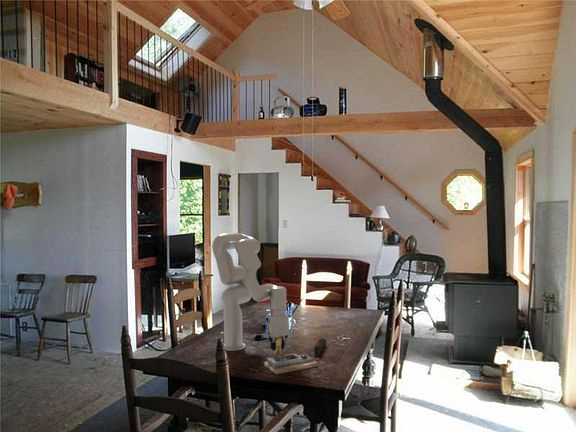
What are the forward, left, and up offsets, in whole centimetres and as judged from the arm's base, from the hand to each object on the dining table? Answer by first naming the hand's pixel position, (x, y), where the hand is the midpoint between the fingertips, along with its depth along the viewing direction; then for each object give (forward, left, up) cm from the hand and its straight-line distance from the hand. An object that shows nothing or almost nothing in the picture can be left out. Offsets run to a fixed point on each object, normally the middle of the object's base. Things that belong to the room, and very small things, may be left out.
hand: (277, 348), depth 208 cm
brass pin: (0, 0, -2) cm, 2 cm away
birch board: (+13, 0, -4) cm, 14 cm away
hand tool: (+2, +23, -5) cm, 24 cm away
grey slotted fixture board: (+13, 0, -3) cm, 13 cm away
